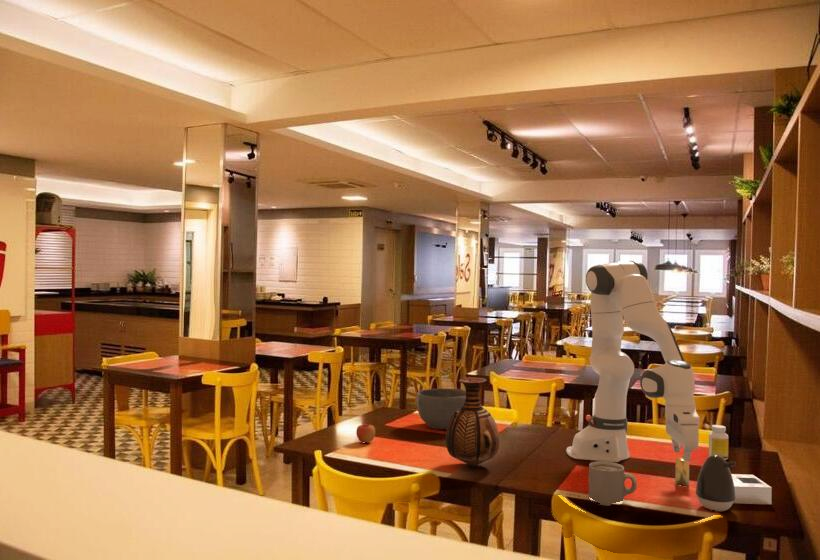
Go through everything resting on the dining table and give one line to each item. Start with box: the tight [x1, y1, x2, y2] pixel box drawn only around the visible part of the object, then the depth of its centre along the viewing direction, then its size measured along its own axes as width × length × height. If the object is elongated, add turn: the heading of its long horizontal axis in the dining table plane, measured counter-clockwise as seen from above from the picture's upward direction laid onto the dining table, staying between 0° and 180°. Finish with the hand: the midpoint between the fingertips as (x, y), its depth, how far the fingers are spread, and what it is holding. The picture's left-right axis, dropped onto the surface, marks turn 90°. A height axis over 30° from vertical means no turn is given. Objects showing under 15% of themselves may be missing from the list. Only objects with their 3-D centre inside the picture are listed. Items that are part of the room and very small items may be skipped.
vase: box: [445, 377, 500, 468], centre depth 227 cm, size 21×18×30 cm
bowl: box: [415, 387, 466, 430], centre depth 283 cm, size 24×24×15 cm
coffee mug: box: [588, 461, 638, 507], centre depth 195 cm, size 13×10×10 cm
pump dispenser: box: [695, 455, 737, 512], centre depth 189 cm, size 10×10×15 cm
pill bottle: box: [708, 424, 729, 461], centre depth 241 cm, size 6×6×12 cm
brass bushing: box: [674, 457, 690, 487], centre depth 210 cm, size 4×4×8 cm
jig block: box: [731, 473, 773, 505], centre depth 199 cm, size 14×12×5 cm
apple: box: [356, 422, 376, 443], centre depth 256 cm, size 7×7×8 cm
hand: (681, 455), depth 209 cm, fingers open, 8 cm apart
